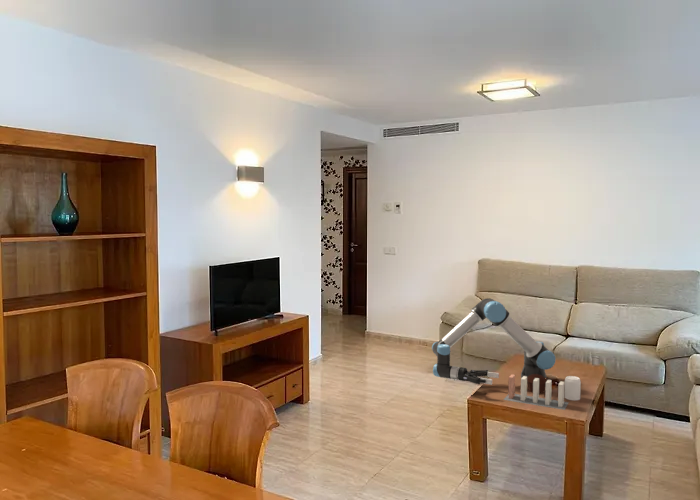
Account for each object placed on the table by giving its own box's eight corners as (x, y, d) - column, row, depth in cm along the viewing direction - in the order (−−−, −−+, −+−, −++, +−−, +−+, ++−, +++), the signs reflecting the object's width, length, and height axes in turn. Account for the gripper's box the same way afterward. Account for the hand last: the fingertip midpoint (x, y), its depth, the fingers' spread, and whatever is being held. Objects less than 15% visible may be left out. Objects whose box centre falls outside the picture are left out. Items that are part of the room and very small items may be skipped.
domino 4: (545, 404, 295) (545, 382, 294) (547, 401, 300) (547, 379, 299) (549, 405, 294) (549, 383, 293) (551, 401, 299) (551, 380, 298)
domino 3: (532, 402, 298) (533, 380, 297) (535, 399, 303) (535, 377, 303) (536, 402, 297) (536, 381, 296) (538, 399, 302) (539, 378, 302)
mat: (509, 393, 314) (509, 392, 314) (568, 403, 298) (568, 402, 298) (503, 400, 303) (503, 399, 303) (564, 410, 287) (564, 409, 287)
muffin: (548, 390, 319) (549, 373, 319) (544, 396, 310) (545, 378, 309) (527, 387, 325) (528, 370, 325) (523, 392, 316) (523, 375, 315)
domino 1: (508, 398, 305) (508, 377, 304) (511, 395, 310) (511, 374, 309) (512, 398, 304) (512, 377, 303) (514, 395, 309) (515, 374, 308)
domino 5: (558, 406, 292) (558, 384, 291) (559, 403, 297) (560, 381, 296) (561, 407, 291) (562, 384, 290) (563, 403, 296) (564, 381, 295)
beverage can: (569, 395, 311) (569, 374, 310) (583, 399, 304) (583, 378, 303) (561, 398, 306) (562, 377, 305) (575, 402, 299) (575, 381, 298)
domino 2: (520, 400, 302) (520, 378, 301) (523, 397, 307) (523, 376, 306) (524, 400, 300) (524, 379, 300) (526, 397, 306) (527, 376, 305)
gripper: (466, 374, 333) (501, 379, 322) (452, 385, 311) (489, 391, 300) (466, 362, 332) (501, 366, 321) (452, 372, 311) (489, 378, 300)
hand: (495, 378), depth 311 cm, fingers open, 13 cm apart
